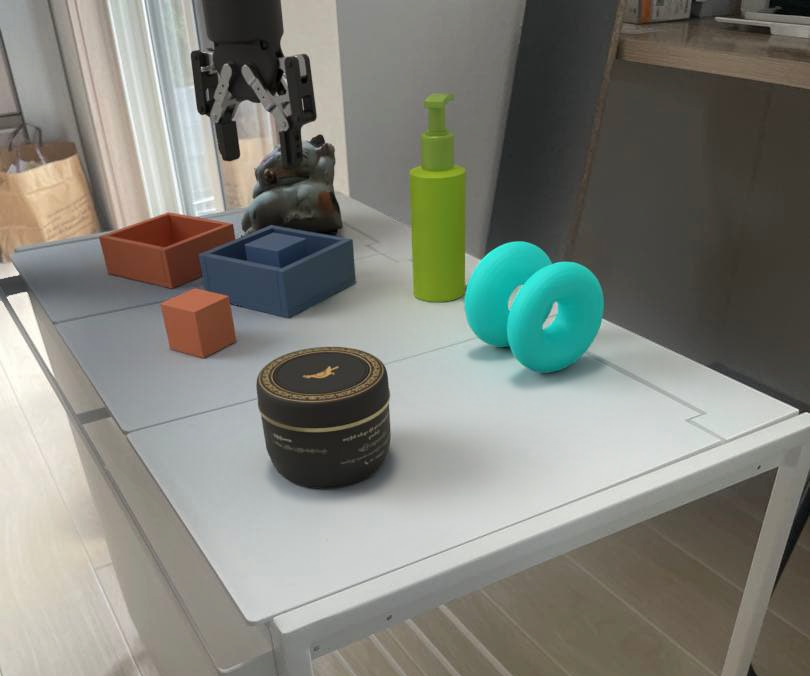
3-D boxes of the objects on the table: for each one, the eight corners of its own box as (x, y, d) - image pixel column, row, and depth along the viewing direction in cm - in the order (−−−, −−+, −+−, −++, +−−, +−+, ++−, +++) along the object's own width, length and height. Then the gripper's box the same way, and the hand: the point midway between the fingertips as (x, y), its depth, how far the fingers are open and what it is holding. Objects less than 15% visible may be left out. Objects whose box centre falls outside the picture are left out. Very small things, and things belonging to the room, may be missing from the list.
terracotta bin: (107, 273, 105) (98, 236, 103) (175, 247, 113) (168, 211, 110) (172, 288, 100) (164, 250, 97) (239, 260, 108) (233, 223, 105)
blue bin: (206, 298, 97) (198, 254, 94) (276, 266, 105) (271, 224, 102) (288, 318, 91) (282, 271, 88) (356, 282, 99) (352, 238, 96)
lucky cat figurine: (222, 243, 113) (215, 134, 111) (286, 256, 123) (281, 156, 121) (302, 223, 104) (296, 105, 102) (364, 239, 113) (360, 131, 112)
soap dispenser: (471, 281, 98) (473, 90, 86) (458, 303, 93) (458, 102, 81) (423, 279, 99) (418, 89, 87) (407, 300, 94) (400, 101, 82)
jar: (416, 445, 68) (413, 358, 64) (348, 507, 61) (339, 414, 57) (316, 419, 72) (306, 335, 68) (242, 474, 66) (225, 385, 61)
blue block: (250, 287, 97) (244, 244, 94) (278, 274, 100) (273, 232, 97) (283, 295, 95) (278, 250, 92) (311, 281, 98) (306, 238, 95)
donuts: (540, 328, 86) (546, 229, 80) (604, 362, 79) (616, 256, 73) (458, 351, 83) (458, 248, 77) (517, 389, 76) (522, 279, 70)
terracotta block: (169, 348, 86) (160, 303, 83) (203, 332, 89) (194, 287, 86) (203, 358, 84) (194, 312, 81) (236, 341, 87) (229, 295, 84)
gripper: (157, -16, 80) (188, 165, 90) (270, -15, 74) (290, 180, 84) (212, -22, 85) (235, 150, 95) (322, -21, 79) (336, 163, 89)
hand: (261, 164), depth 89 cm, fingers open, 8 cm apart
